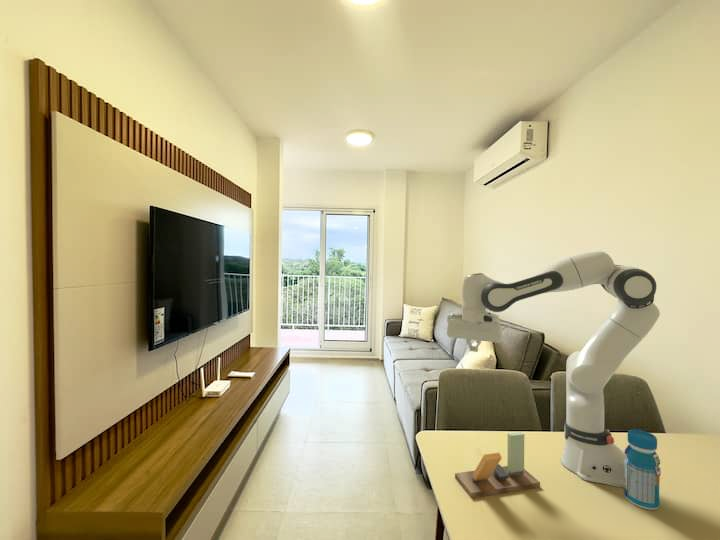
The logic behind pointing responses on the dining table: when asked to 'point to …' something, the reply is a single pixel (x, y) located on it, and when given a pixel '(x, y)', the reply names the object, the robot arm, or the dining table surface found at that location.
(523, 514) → the dining table surface
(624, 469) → the robot arm
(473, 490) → the walnut switch board
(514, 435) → the sage paddle lever
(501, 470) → the dark gray rocker switch
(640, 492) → the beverage bottle
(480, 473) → the orange paddle lever
